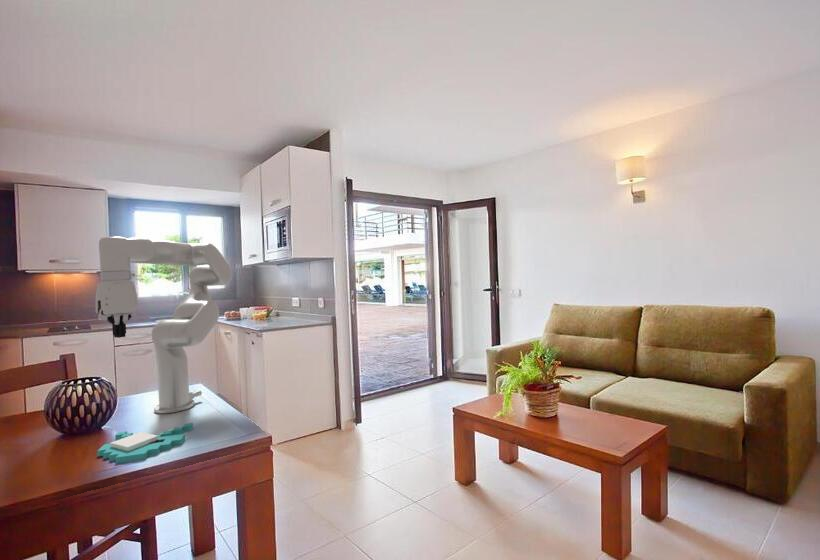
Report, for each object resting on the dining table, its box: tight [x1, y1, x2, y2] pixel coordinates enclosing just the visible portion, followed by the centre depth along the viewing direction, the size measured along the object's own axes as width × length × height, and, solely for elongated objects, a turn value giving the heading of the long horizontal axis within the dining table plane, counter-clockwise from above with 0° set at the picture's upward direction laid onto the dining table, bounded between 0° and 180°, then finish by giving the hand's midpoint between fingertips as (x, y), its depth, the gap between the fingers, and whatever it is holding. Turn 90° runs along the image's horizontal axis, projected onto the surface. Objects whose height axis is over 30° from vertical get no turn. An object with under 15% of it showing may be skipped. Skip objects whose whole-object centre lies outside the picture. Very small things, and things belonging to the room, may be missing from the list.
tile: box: [109, 431, 158, 451], centre depth 113 cm, size 1×8×8 cm
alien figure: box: [96, 422, 194, 464], centre depth 115 cm, size 20×2×20 cm
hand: (119, 336), depth 127 cm, fingers closed
